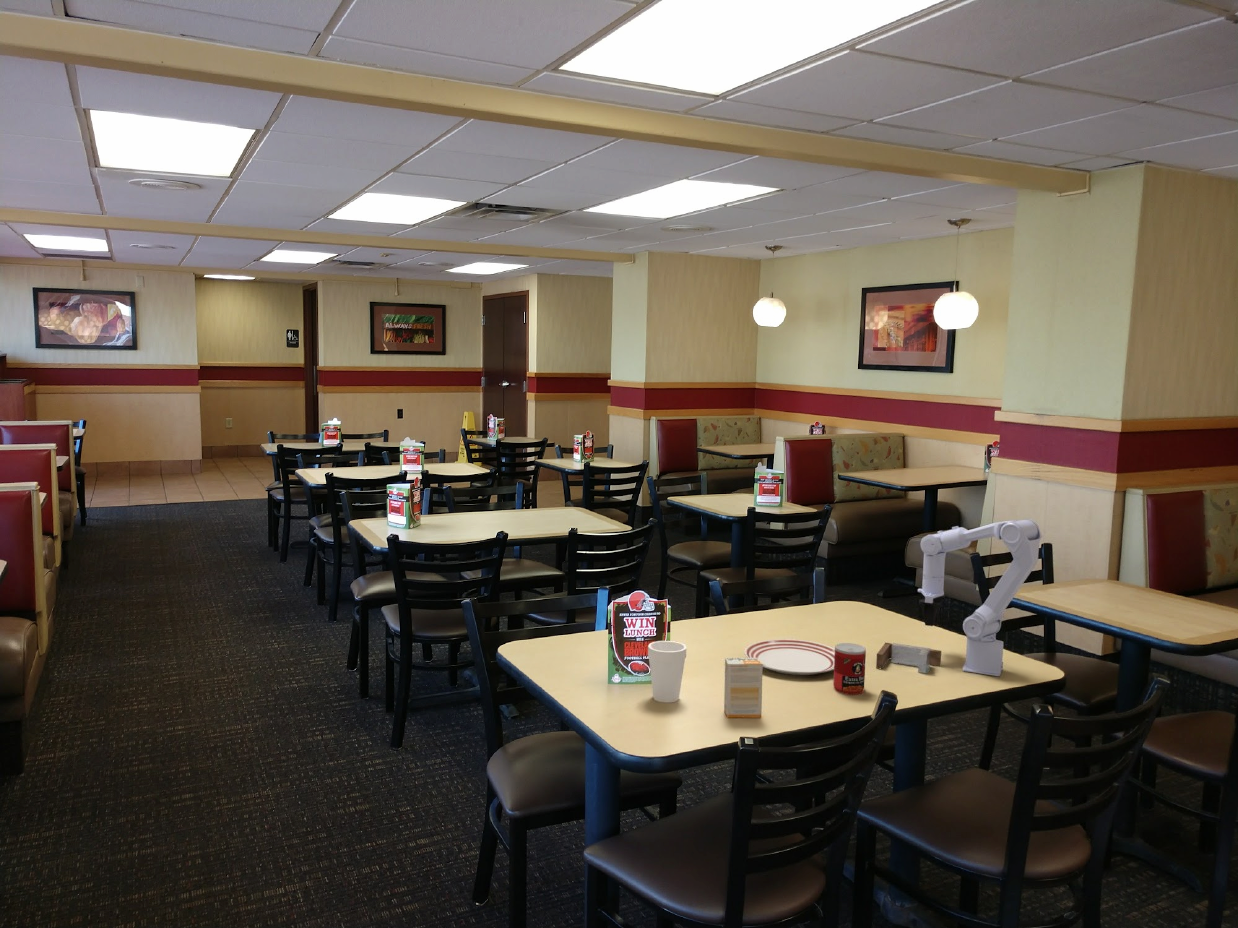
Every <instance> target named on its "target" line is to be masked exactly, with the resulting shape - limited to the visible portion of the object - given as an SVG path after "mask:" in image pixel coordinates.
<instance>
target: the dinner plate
mask: <svg viewBox="0 0 1238 928" xmlns="http://www.w3.org/2000/svg"><path fill="white" fill-rule="evenodd" d="M744 655H745V658H759V659H760V661H761V662H762V664H763V668H764V669H767V670H770V671H772V670H773V672H775V671H776V673H781V674H784V673H785V674H784V675H791V676H792V675H795V676H808V675H817V674H823V673H827V672H831V671H834V656H835V647H831V646H829V645H826V644H823V643H820V642H816V641H810V640H804V639H793V638H777V639H764V640H761V641H756V642H753V643H751V644H748V645H747V646H746V647H745V649H744Z"/></svg>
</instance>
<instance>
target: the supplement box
mask: <svg viewBox="0 0 1238 928" xmlns="http://www.w3.org/2000/svg"><path fill="white" fill-rule="evenodd" d="M763 668H764V667H763V664H762V662H761V661H760V659H759V658H747V657H725V658H724V694H723V695H724V698H723V699H724V701H723V704H724V705H723V709H724V710H723V711H724V713H725V715H726V719H727V718H729V719H731V718H733V719H734V718H735V719H737V718H738V719H739V718H742V719H743V718H744V719H745V718H750V719H751V718H753V719H754V718H755V719H756V718H760V719H761V718H762V713H763V712H762V711H763V710H762V709H763V706H762V703H763V670H764V669H763Z"/></svg>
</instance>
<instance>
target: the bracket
mask: <svg viewBox="0 0 1238 928" xmlns="http://www.w3.org/2000/svg"><path fill="white" fill-rule="evenodd" d="M930 649H932V648H930V647H923V646H916V645H907V644H903V643H895V642H893V643H892V657H891V660H890V661H891V663H894V664H898V663H899V665H904V664H905V665H906V666H911V665H912V667H917V666H918V667H917V668H918V669H917V672H918V673H921V674H926V672H927V670H928V668H929V669H930V667H931V665H930ZM929 666H930V667H929Z"/></svg>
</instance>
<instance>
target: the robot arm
mask: <svg viewBox="0 0 1238 928" xmlns="http://www.w3.org/2000/svg"><path fill="white" fill-rule="evenodd" d="M993 537H994V538H996V539H997V540H998V541H1001V540H1002V542H1003V543H1004V545H1005V546H1006V548H1007V549H1008V551H1009V552H1010V553H1011V555H1012V556H1011V557H1012V558H1013V560H1012V561H1011V562H1010V564H1009V566H1008V567H1007V568H1006V570H1005V572H1004V573H1003V574H1002V576H1001V577H1000V578H999V580H998V582H997V583H996V585H995V586H994V588H993V589H992V591H991V592H990V594H989V595H988V597H987V598H986V600H985V601H984V603H982V605H981V606H979V607H978V608H977V609H975V611H974V612H973V613H972V614H971V615H969V616H968V617H966V618H964V620H963V622H962V623H963V624H962V630H963V631H964V634H965V635H966V653H965V662H964V664H963V666H962V671H963V672H969V673H975V674H980V675H981V674H982V675H987V676H994V677H1000V676H1001V674H1002V670H1003V668H1004V660H1003V658H1004V657H1003V656H1004V641H1002V640H998V639H996V638H997V637H996V636H997V633H998V632H999V631H1000V629H1001V627H1002V621H1003V619H1004V617H1005V615H1004V614H1003V613H1004V612H1005V610H1006V609H1007V607H1008V606H1009V605H1010V603H1011V602H1012V600H1013V598H1014V597H1015V596H1016V594H1017V593H1018V592H1019V590H1020V588H1021V587H1022V586H1023V584H1024V582H1025V581H1027V579H1028V577H1029V576H1030V574H1031V572H1032V571H1033V569H1034V568H1035V567H1036V565H1037V563H1038V561H1039V551H1040V549H1039V548H1040V542H1041V540H1042V537H1043V535H1042V532H1041V529H1040V527H1039V525H1038V523H1037V522H1035V521H1034V520H1033V519H1030V518H1024V519H1021V520H1018V519H1016V520H1014V519H1013V520H1006V521H997V522H993V523H990V524H986V525H983V526H979V527H976V528H972V529H969V530H968V529H967V528H965V527H963V526H961V527H959V525H956V526H952V527H951V529H949V530H948V529H947V530H939V531H937V533H934V534H933V533H932V534H927V535H925V536H923V537H922V538H921V541H920V542H919V543H920V549H921V551H922V552H923V565H922V566H923V567H922V586H921V588H918V589H917V592H918V593H921V594H922V595H923V596H924V599H919V601H918V603H919V606H920V609H921V610H922V614H923V622H924V625H925V626H927V627H934V624H935V621H937V620H938V617H939V613H940V608H941V606H942V603H943V601H944V599H945V598H946V595H945V591H944V587H945V586H944V583H945V582H944V581H945V565H946V564H945V563H946V562H945V561H946V554H947V553H949V552H952V551H957V550H961V549H967V548H968V547H970V545H971V543H972V542H973V541H978V540H979V541H980V540H983V539H988V538H993Z"/></svg>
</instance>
